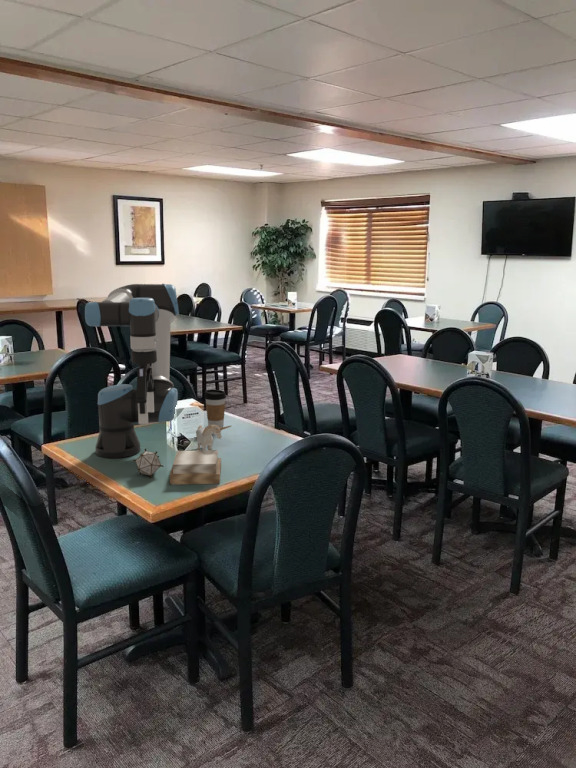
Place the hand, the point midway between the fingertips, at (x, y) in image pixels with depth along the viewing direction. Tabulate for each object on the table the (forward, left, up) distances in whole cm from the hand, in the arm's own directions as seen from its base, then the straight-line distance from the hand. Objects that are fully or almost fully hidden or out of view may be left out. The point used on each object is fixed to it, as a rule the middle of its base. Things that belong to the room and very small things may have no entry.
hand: (146, 417), depth 191 cm
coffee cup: (+19, +52, -19) cm, 58 cm away
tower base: (+15, -1, -19) cm, 24 cm away
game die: (0, 0, -19) cm, 19 cm away
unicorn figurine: (+20, +16, -19) cm, 32 cm away
